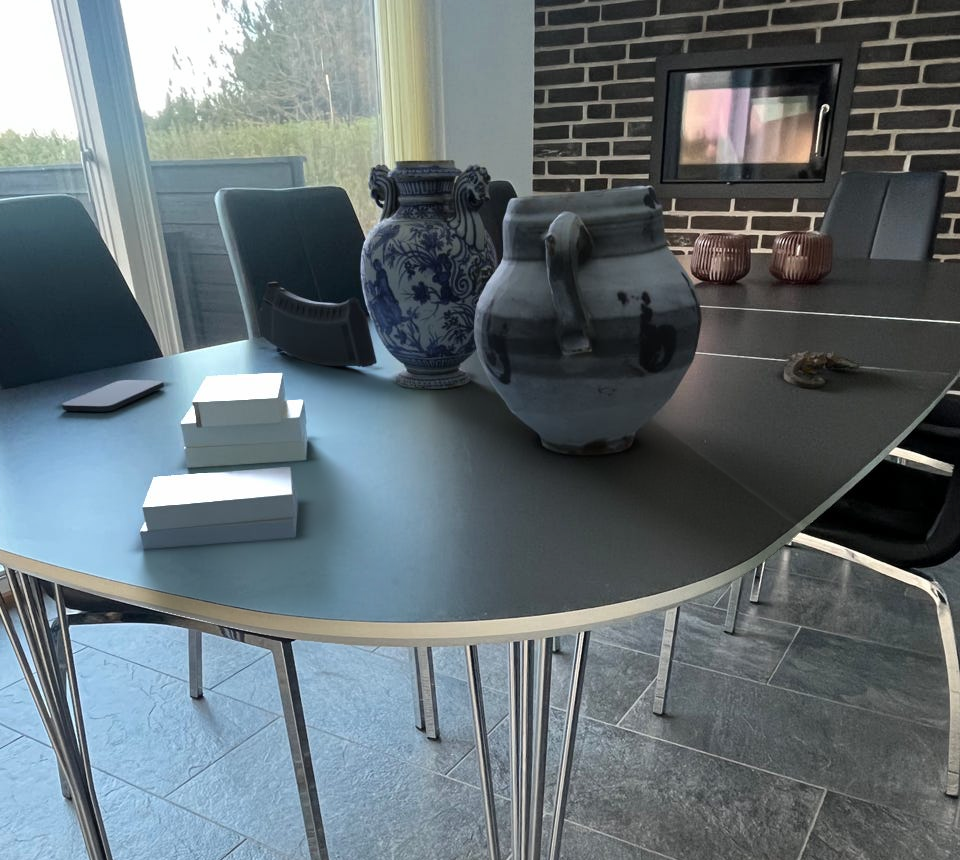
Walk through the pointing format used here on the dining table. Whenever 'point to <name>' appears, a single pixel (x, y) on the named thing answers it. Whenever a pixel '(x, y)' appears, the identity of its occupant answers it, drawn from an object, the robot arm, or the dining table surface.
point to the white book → (239, 400)
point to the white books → (247, 440)
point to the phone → (113, 395)
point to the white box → (220, 508)
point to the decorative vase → (427, 267)
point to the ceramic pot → (587, 317)
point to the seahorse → (813, 367)
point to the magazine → (316, 329)
